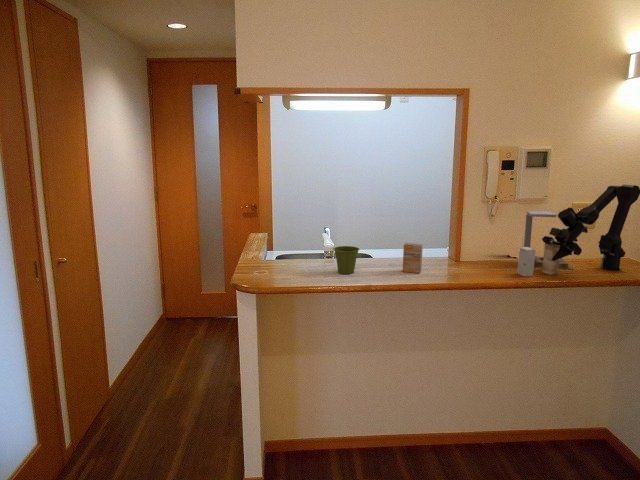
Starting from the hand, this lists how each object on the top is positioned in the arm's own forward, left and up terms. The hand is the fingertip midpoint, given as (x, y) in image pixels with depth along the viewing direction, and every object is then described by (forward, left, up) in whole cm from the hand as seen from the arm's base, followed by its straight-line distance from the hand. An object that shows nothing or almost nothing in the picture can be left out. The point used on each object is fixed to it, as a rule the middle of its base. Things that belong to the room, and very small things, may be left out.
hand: (548, 259), depth 202 cm
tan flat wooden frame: (-4, -19, -7) cm, 20 cm away
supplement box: (+59, +11, -7) cm, 60 cm away
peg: (-1, -1, -7) cm, 7 cm away
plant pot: (+88, +20, -7) cm, 90 cm away
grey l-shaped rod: (+2, -19, -7) cm, 20 cm away
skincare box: (+10, +4, -7) cm, 13 cm away
